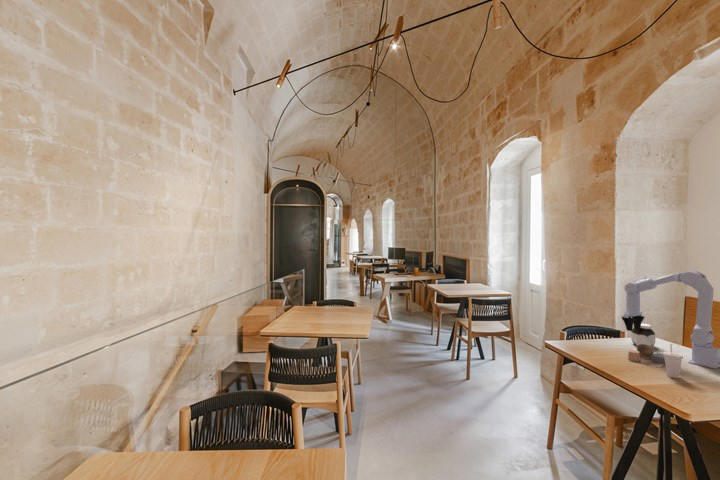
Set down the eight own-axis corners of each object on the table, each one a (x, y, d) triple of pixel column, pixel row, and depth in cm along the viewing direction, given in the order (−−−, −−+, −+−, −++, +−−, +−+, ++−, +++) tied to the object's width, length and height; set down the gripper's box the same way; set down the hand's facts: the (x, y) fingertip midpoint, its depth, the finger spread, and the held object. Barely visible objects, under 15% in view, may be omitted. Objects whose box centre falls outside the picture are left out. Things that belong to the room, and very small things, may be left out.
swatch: (663, 364, 161) (663, 364, 161) (657, 367, 158) (657, 366, 158) (646, 360, 167) (646, 359, 167) (639, 363, 163) (639, 362, 163)
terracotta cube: (639, 359, 168) (639, 351, 168) (638, 361, 165) (638, 353, 165) (629, 357, 171) (629, 349, 171) (628, 359, 168) (628, 351, 168)
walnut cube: (653, 356, 173) (653, 346, 173) (649, 357, 171) (648, 347, 171) (641, 353, 178) (641, 343, 178) (637, 354, 175) (637, 345, 175)
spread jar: (647, 343, 194) (647, 323, 194) (663, 350, 182) (663, 328, 182) (625, 343, 195) (625, 322, 195) (639, 349, 184) (639, 327, 184)
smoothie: (662, 372, 152) (662, 341, 152) (682, 375, 148) (682, 343, 148) (663, 376, 147) (663, 344, 147) (683, 380, 143) (683, 347, 143)
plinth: (675, 364, 163) (675, 356, 163) (669, 367, 159) (669, 359, 159) (657, 359, 169) (657, 352, 169) (651, 362, 165) (651, 355, 165)
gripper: (631, 302, 193) (632, 326, 193) (617, 304, 186) (617, 329, 186) (646, 304, 186) (646, 329, 186) (632, 307, 180) (632, 332, 180)
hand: (633, 329), depth 186 cm, fingers open, 7 cm apart
